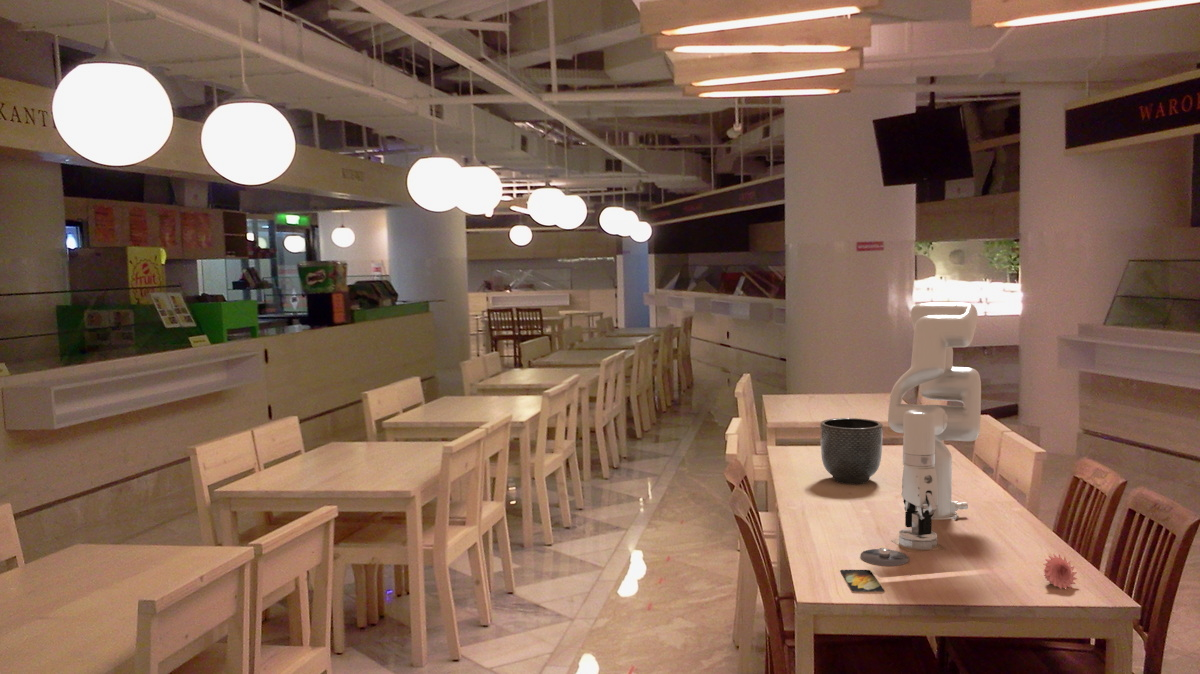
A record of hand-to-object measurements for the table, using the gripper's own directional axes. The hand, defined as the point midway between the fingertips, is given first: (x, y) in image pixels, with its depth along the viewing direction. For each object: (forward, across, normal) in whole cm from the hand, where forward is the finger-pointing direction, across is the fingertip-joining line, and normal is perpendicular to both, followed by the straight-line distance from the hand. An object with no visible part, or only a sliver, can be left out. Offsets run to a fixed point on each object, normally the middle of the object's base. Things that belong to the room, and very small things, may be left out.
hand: (918, 529), depth 235 cm
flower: (+5, -31, -17) cm, 36 cm away
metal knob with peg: (+4, 0, 0) cm, 4 cm away
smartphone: (+5, -19, +24) cm, 31 cm away
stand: (+5, 0, 0) cm, 5 cm away
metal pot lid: (+5, -8, +13) cm, 16 cm away
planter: (+5, +70, -14) cm, 72 cm away
